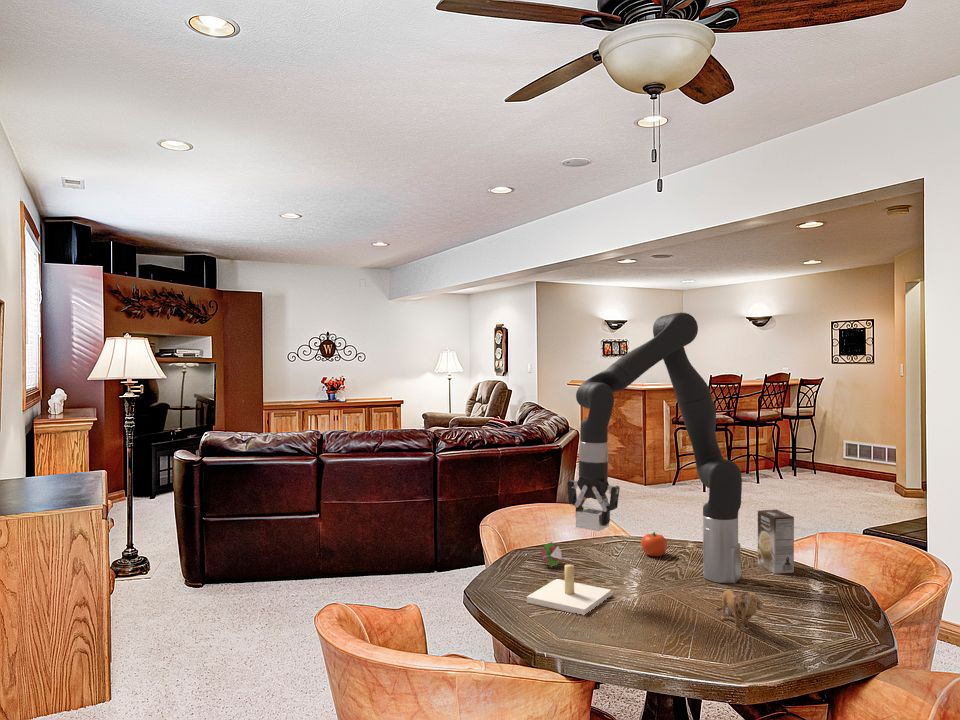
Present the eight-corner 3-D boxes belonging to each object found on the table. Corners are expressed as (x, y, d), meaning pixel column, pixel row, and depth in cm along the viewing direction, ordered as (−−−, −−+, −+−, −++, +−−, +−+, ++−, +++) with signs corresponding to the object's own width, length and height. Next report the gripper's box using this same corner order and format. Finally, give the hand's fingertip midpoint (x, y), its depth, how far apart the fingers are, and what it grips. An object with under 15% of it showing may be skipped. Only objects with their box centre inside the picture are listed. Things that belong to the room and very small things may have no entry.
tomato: (666, 559, 206) (666, 535, 206) (639, 557, 208) (639, 533, 208) (668, 552, 213) (668, 529, 213) (642, 550, 215) (641, 527, 215)
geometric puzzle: (530, 557, 202) (542, 538, 199) (544, 552, 207) (556, 533, 204) (545, 575, 199) (558, 557, 195) (559, 570, 204) (572, 551, 200)
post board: (611, 595, 176) (611, 562, 176) (584, 615, 162) (584, 580, 162) (556, 584, 185) (556, 553, 185) (526, 602, 171) (526, 568, 171)
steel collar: (609, 526, 177) (609, 510, 177) (598, 531, 172) (598, 515, 172) (586, 522, 180) (586, 507, 180) (575, 527, 175) (576, 511, 175)
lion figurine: (767, 634, 151) (766, 594, 151) (746, 637, 149) (746, 597, 149) (725, 610, 165) (725, 573, 165) (706, 613, 163) (706, 576, 163)
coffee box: (756, 564, 200) (756, 510, 200) (776, 563, 201) (776, 509, 201) (774, 574, 191) (774, 517, 191) (795, 572, 192) (795, 516, 192)
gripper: (625, 460, 175) (624, 525, 175) (575, 454, 183) (573, 516, 183) (613, 463, 169) (612, 530, 169) (562, 458, 177) (560, 522, 177)
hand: (592, 523), depth 176 cm, fingers closed on steel collar, 6 cm apart
